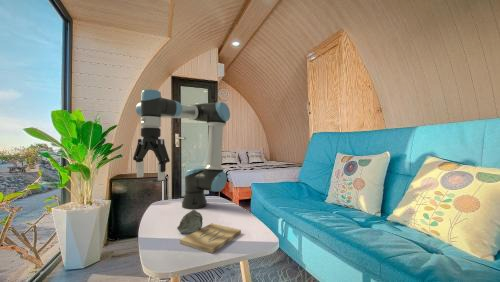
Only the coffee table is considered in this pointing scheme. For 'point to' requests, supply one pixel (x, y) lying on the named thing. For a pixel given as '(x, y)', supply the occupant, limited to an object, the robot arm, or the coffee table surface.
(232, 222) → the coffee table surface
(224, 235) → the board
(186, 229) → the stone
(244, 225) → the coffee table surface
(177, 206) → the coffee table surface
